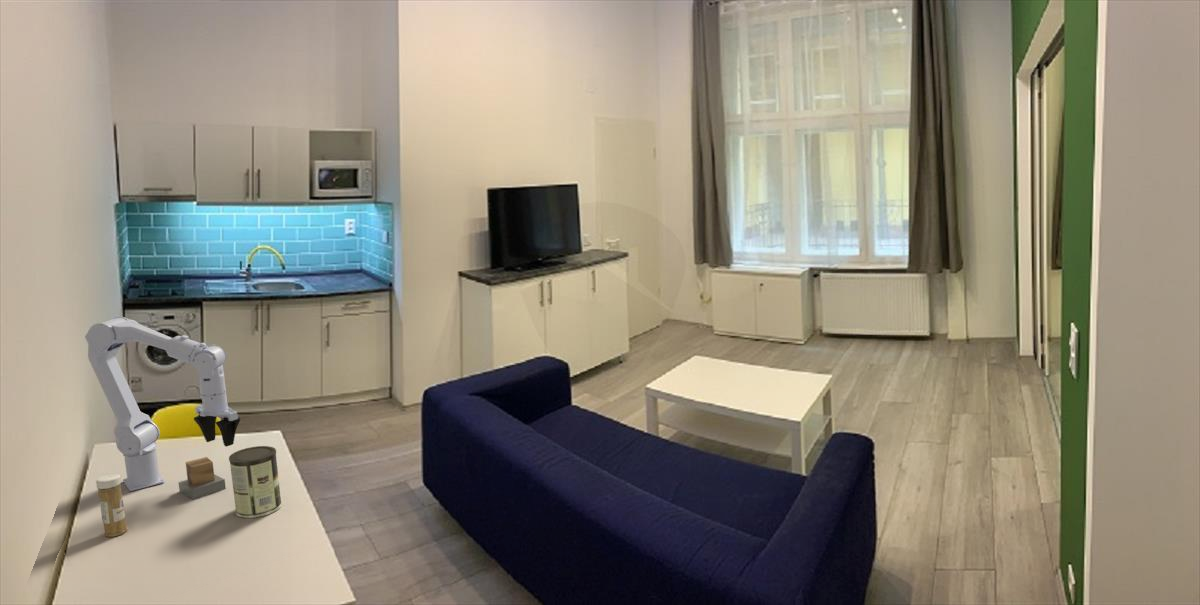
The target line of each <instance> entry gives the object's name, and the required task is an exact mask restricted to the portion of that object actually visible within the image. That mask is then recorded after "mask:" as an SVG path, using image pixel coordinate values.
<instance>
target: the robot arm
mask: <svg viewBox="0 0 1200 605" xmlns="http://www.w3.org/2000/svg"><path fill="white" fill-rule="evenodd" d="M84 338H85V340H86V343H87V345H88V346H87V358H88V361H89V363H90V365H91V368H92V369H93V371H94V374H95V376H96V379H97V381H98V382H99V384H100V386H101V389H102V391H103V393H104V395H105V397H106V399H107V401H108V404H109V406H110V408H111V410H112V412H113V414H114V416H115V419H116V424H115V426H114V430H113V433H114V435H115V438H116V439H115V440H116V441H115V444H116V448H117V450H118V451H119V452H120V453H121V454H122V455H123V458H124V464H125V466H124V467H125V471H126V478H124V479H123V480H122V481H123V483H124V484H125V486H126V487H127V489H128V491H129V492H132V491H133V492H134V491H137V490H140V489H144V488H147V487H148V488H149V487H152V486H156V485H160V484H163V483H165V480H164V478H163V477H162V476H161V474H160V469H159V461H158V453H157V441H158V439H159V438H160V436H161V431H160V429H159V427H158V424H156V423H154V421H153V420H152V419H151V417H150V415H149V414H146V413H144V412H142V411H141V410H140V408H139V405H138V403H137V401H136V399H135V396H134V394H133V392H132V390H131V387H130V386H129V384H128V381H127V379H126V377H125V375H124V372H123V370H122V368H121V366H120V364H119V361H118V360H117V354H118V353H119V352H120V349H121V348H122V346H123V345H124V344H125V343H130V342H138V343H142V344H144V345H148V346H152V347H154V348H157V349H161V350H165V352H166V354H167V356H168V357H169V358H173V359H176V360H177V361H181V362H184V363H187V364H189V365H193V367H194V369H195V370H196V371H197V372H198V377H199V385H200V394H201V401H202V402H201V403H202V404H199V405H197V406H195V407H194V408H195V414H196V415H197V416H195V417H193V421H195V423H196V424H197V426H198V427H199V428H200V430H201V432H202V435H203V437H204V439H205V441H206V443H210V442H213V441H215V440H216V426H217V427H218V429H219V431H220V433H221V434H220V435H221V437H222V442H223V445H224V447H227V448H228V447H229V446H232V445H234V443H235V442H234V441H235V435H236V433H237V431H236V430H237V428H238V426H239V423H240V422H241V418H240V417H239V415H238V412H237V411H234V410H233V409H232V408H231V407H230V406H229V405H228V398H227V397H228V396H227V388H226V380H225V371H224V365H223V364H224V363H225V362H226V361H227V354H226V351H225V349H223V347H221V346H219V345H217V344H210V345H207V343H205V342H199V341H196V340H192V339H191V338H189V336H188V335H186V334H183V335H176V336H174V337H172V336H168V335H166V334H163V333H162V332H159V331H157V330H154V329H152V328H150V327H148V326H146V325H143V324H141V323H139V322H137V321H136V320H134V319H129V318H127V317H124V316H116V317H114V318H112V319H109V320H107V321H106V320H105V321H103V322H98V323H94V324H93V325H91V327H89V330H88V331H87V333H86V334H85V336H84ZM217 418H221V420H218V421H217Z"/></svg>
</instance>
